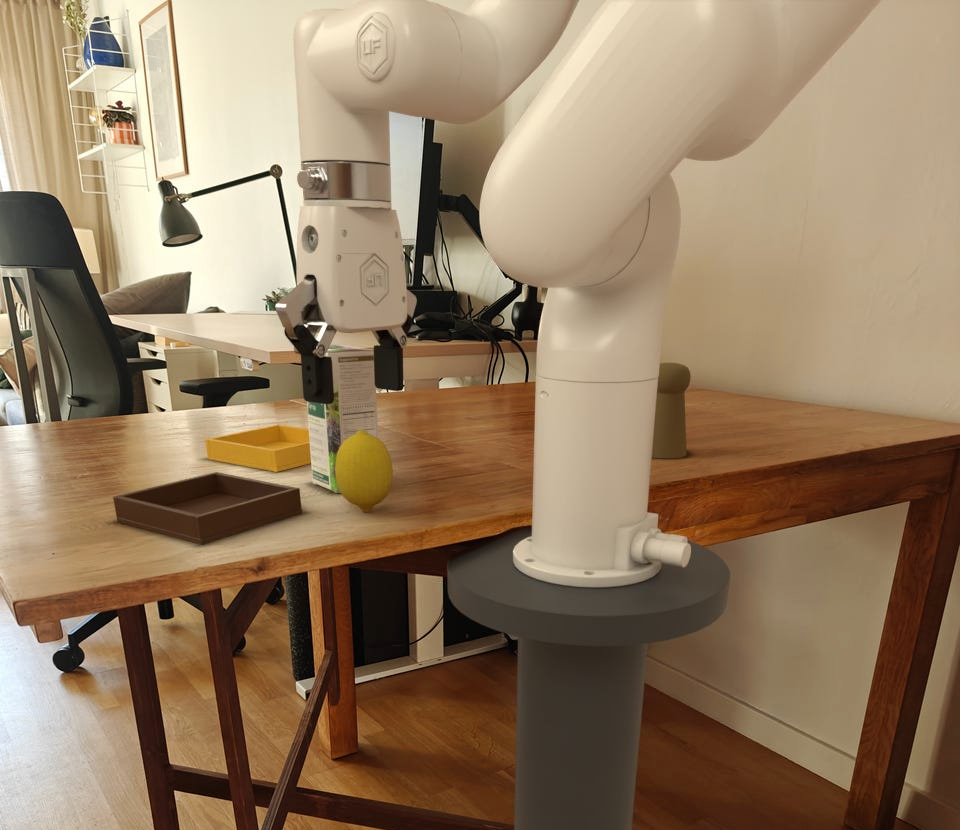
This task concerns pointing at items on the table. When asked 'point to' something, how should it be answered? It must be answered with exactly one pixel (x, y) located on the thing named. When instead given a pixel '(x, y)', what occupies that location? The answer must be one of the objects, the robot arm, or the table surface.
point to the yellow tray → (263, 448)
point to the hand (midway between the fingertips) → (355, 395)
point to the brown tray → (207, 506)
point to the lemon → (363, 470)
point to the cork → (670, 411)
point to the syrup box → (342, 410)
